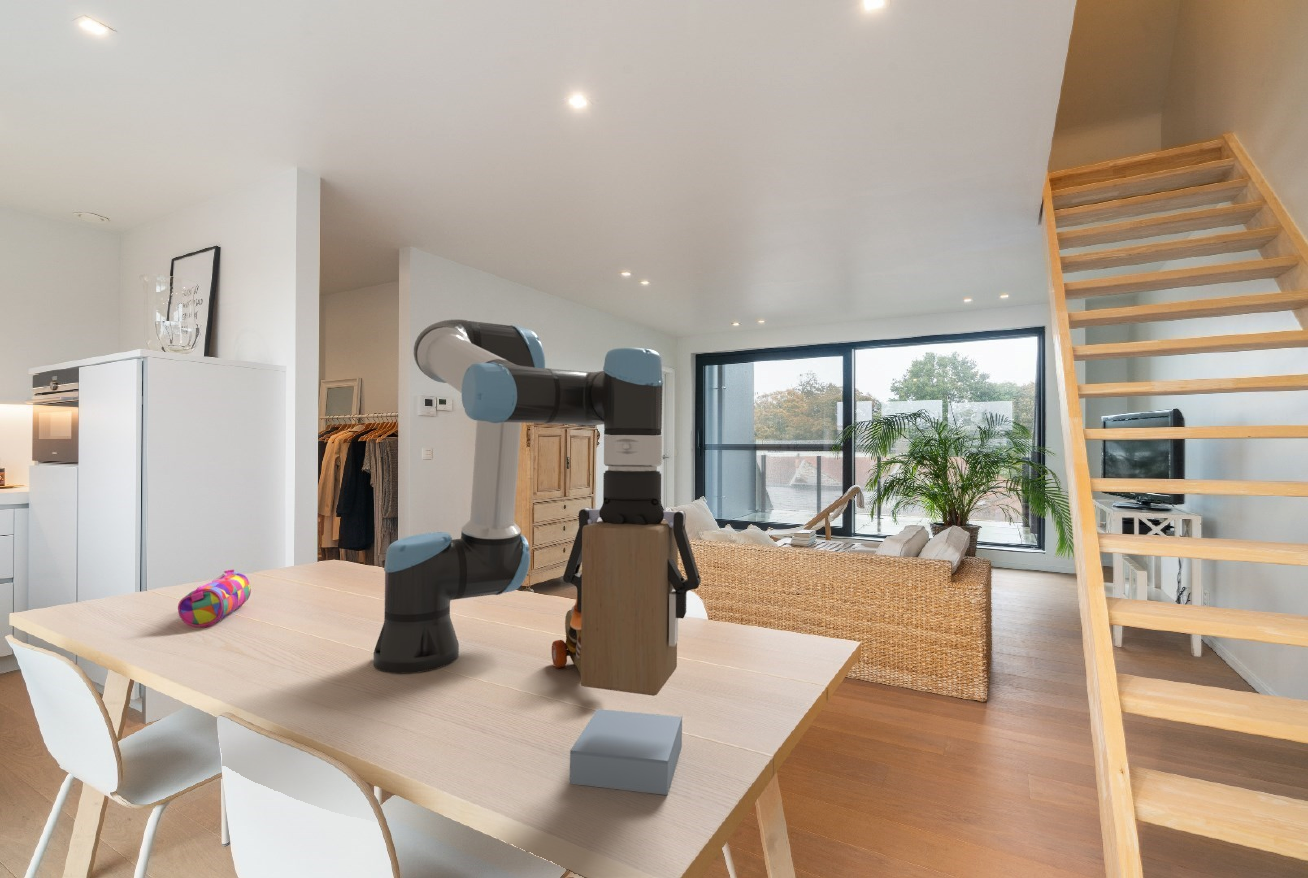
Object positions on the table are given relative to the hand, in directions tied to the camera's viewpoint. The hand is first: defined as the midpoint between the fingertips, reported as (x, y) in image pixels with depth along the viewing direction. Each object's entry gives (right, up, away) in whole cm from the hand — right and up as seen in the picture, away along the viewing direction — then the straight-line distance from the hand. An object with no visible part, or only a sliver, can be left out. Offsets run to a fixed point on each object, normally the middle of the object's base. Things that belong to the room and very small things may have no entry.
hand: (630, 640), depth 79 cm
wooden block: (0, -5, 0) cm, 5 cm away
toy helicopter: (-9, -16, +30) cm, 36 cm away
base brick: (0, -16, 0) cm, 16 cm away
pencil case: (-100, -16, +65) cm, 120 cm away
